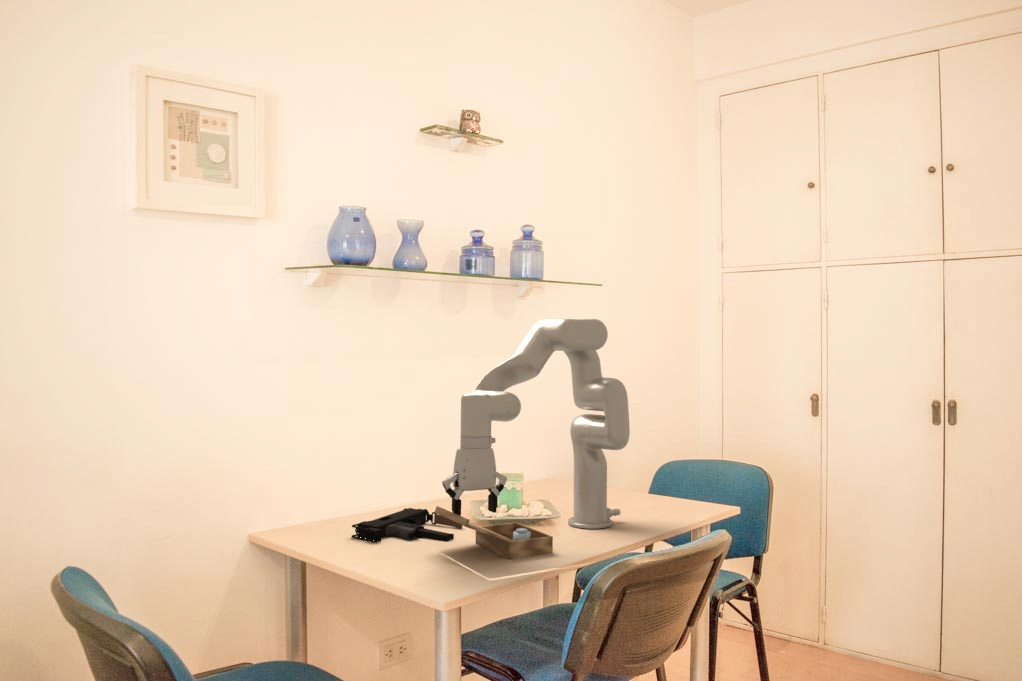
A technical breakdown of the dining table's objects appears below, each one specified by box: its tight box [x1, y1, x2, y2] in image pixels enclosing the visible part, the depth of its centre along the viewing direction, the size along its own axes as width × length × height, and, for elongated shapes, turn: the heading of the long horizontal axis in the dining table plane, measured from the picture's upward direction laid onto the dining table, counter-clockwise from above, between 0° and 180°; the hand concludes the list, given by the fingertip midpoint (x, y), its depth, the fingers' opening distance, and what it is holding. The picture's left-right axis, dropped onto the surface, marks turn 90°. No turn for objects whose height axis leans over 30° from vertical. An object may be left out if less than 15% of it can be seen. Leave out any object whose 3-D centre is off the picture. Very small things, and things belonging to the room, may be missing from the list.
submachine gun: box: [351, 507, 463, 543], centre depth 215 cm, size 4×29×25 cm
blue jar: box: [513, 528, 531, 541], centre depth 199 cm, size 4×4×4 cm
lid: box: [434, 505, 511, 541], centre depth 192 cm, size 13×18×2 cm
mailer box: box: [475, 521, 554, 560], centre depth 197 cm, size 12×18×4 cm, turn 30°
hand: (474, 513), depth 192 cm, fingers open, 9 cm apart
